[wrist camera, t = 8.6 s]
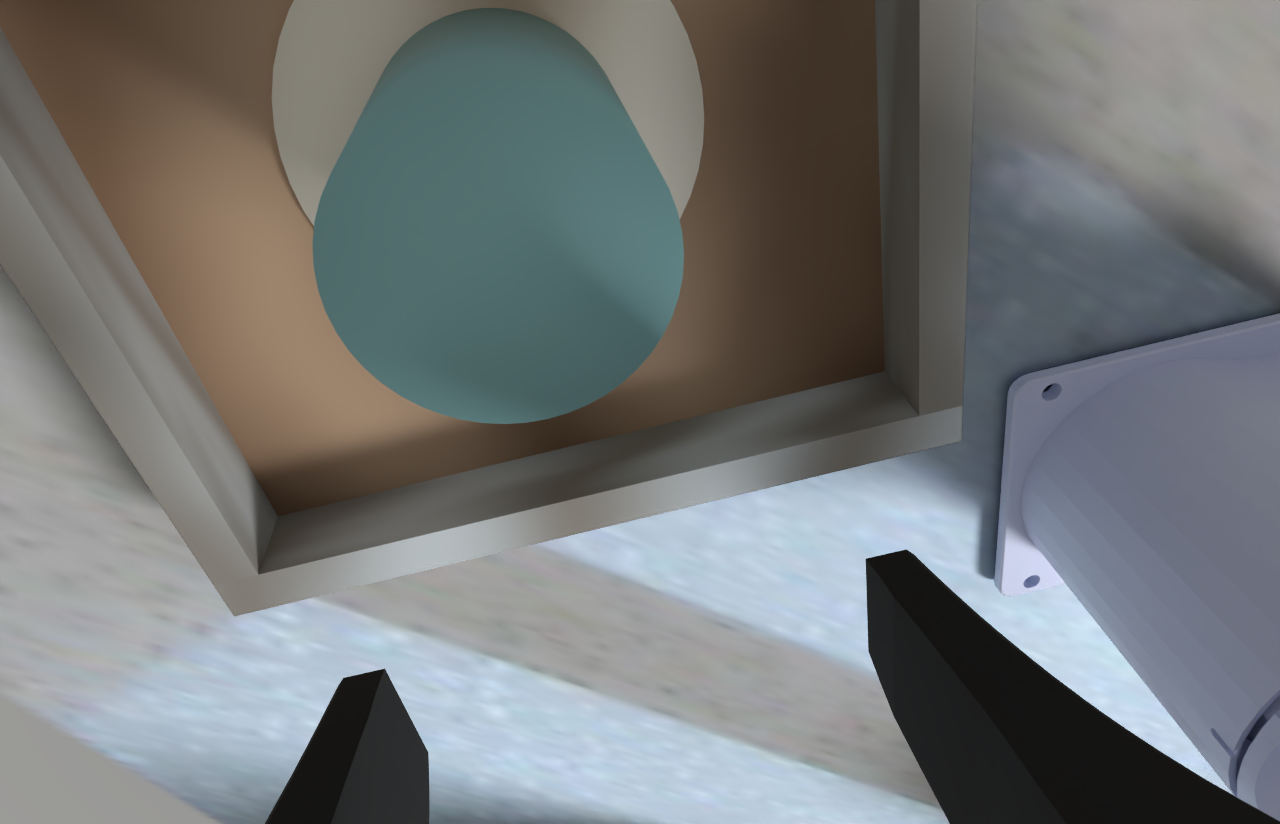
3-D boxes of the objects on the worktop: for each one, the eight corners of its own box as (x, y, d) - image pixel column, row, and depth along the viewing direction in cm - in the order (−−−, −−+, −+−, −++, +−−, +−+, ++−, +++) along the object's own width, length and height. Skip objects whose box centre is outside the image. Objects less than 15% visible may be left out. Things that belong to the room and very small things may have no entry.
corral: (906, -594, 12) (1002, -702, 10) (911, 379, 22) (961, 441, 19) (-255, -343, 12) (-435, -392, 10) (262, 534, 21) (234, 616, 19)
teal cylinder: (598, -19, 15) (652, 40, 10) (643, 235, 18) (704, 383, 13) (328, 39, 15) (246, 127, 10) (416, 286, 17) (387, 456, 12)
